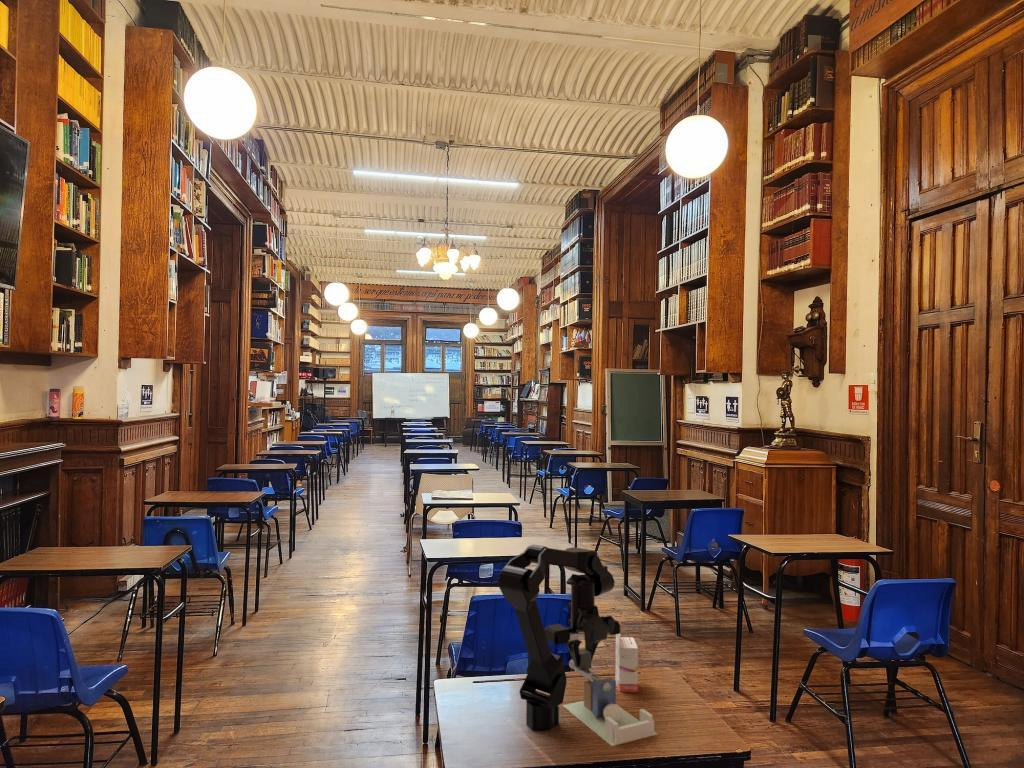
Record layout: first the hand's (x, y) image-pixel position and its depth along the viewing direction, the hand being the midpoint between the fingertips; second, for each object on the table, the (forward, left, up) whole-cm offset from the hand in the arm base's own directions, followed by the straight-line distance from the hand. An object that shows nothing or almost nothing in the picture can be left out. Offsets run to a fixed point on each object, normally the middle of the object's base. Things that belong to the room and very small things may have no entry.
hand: (582, 665), depth 162 cm
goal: (0, -19, -8) cm, 21 cm away
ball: (0, -13, -6) cm, 14 cm away
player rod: (0, -3, -8) cm, 8 cm away
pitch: (0, -11, -9) cm, 14 cm away
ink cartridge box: (+15, +3, -10) cm, 18 cm away
